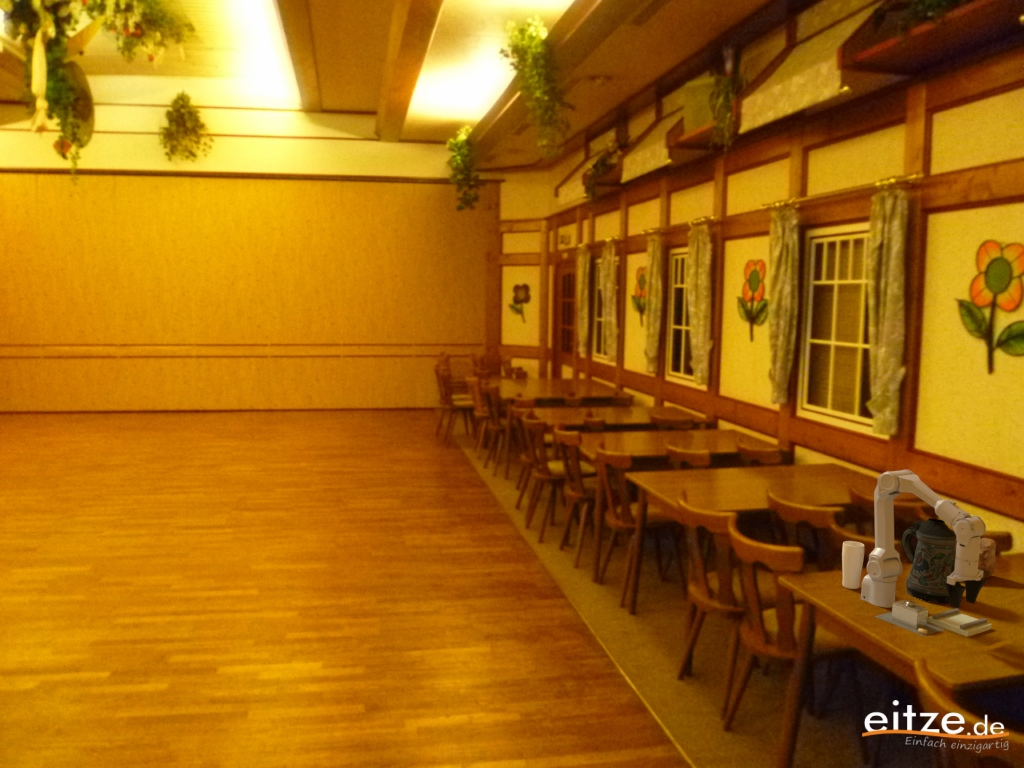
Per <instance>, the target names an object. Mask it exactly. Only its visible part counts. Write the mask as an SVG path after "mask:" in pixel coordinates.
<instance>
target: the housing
mask: <svg viewBox="0 0 1024 768" xmlns="http://www.w3.org/2000/svg"><path fill="white" fill-rule="evenodd" d="M891 612H892V620H894V621H896V622H899V623H901V624H904V625H906V626H909V627H911V628H914V629H919V628H923V627H926V626H927V623H928V617H929V615H928V614H929V609H927V608H926V607H925V606H922V605H919V604H916V602H914V601H912V600H906V599H902V600H898V601H895V603H893V606H892V607H891Z"/></svg>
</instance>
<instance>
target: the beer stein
mask: <svg viewBox="0 0 1024 768" xmlns="http://www.w3.org/2000/svg"><path fill="white" fill-rule="evenodd" d="M951 529H952V528H950V527H949V526H948V525H947V524H946V522H945V521H944V520H943V519H938V518H930V517H929V518H928V519H926V520H916V521H914V523H913V524H912V526H910V527H908V528H906V529H905V531H904V533H903V534H902V545H903V549H904V551H905V554H906V556H907V557H908V559H909V561H910V562H911V564H912V565H911V568H910V572H909V574H908V576H907V579H906V580H905V586H906V592H907V594H908V595H909V594H910V596H911V597H913V598H915V597H916V598H915V599H917V598H919V599H918V600H920V599H922V600H921V601H923V600H925V601H924V602H927V601H930V602H929V603H932V602H933V604H940V603H941V605H942V604H943V605H951V604H950V599H949V594H948V591H947V589H946V587H945V585H944V581H945V580H947V576H950V575H951V574H952V573H953V572H954V569H955V558H956V549H955V545H956V543H957V541H956V538H957V537H956V534H955V532H954V530H953V529H952V530H953V531H952V530H951ZM913 537H916V538H917V544H916V549H915V548H914V546H913Z"/></svg>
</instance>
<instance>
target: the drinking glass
mask: <svg viewBox="0 0 1024 768" xmlns="http://www.w3.org/2000/svg"><path fill="white" fill-rule="evenodd" d="M841 551H842V552H841V557H842V558H841V560H842V561H841V564H842V567H841V569H842V575H841V576H842V579H841V580H842V582H841V585H842V586H843V587H844V588H845V589H850V590H857V589H859V588H860V582H861V576H862V571H863V563H864V557H865V544H864V543H862V542H859V541H854V540H846V541H843V543H842V550H841Z"/></svg>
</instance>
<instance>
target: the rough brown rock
mask: <svg viewBox="0 0 1024 768" xmlns="http://www.w3.org/2000/svg"><path fill="white" fill-rule="evenodd" d="M950 529H951V530H952V531H954V529H953V528H950ZM956 546H957V543H956V545H955V549H956ZM996 548H997V542H996V540H994V539H992V538H989V537H982V538H981V539H980V549H979V560H978V570H982V571H983V577H982V578H981V579H984V580H985V579H987V578H989V577H991V576H992V575H993V574H994V573H995V572H996V568H997V567H996V565H997V564H996V563H997V562H996V559H997V557H996Z"/></svg>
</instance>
